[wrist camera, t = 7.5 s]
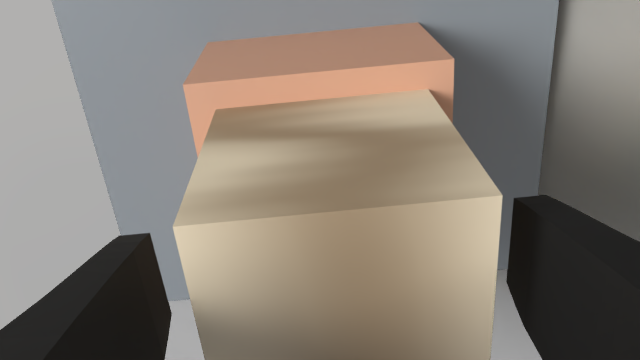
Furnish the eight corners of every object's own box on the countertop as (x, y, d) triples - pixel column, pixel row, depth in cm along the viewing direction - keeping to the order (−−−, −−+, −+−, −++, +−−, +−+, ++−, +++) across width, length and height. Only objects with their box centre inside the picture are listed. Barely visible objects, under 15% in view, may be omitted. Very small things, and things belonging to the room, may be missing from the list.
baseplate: (145, 292, 20) (141, 303, 20) (43, -60, 15) (33, -59, 14) (523, 257, 20) (530, 266, 20) (561, -110, 15) (570, -110, 14)
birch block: (246, 280, 15) (226, 447, 10) (215, 109, 12) (172, 226, 8) (426, 263, 15) (485, 422, 10) (427, 88, 12) (502, 195, 8)
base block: (239, 221, 18) (226, 299, 15) (207, 42, 16) (182, 85, 12) (418, 205, 18) (448, 278, 15) (417, 22, 16) (454, 59, 12)
